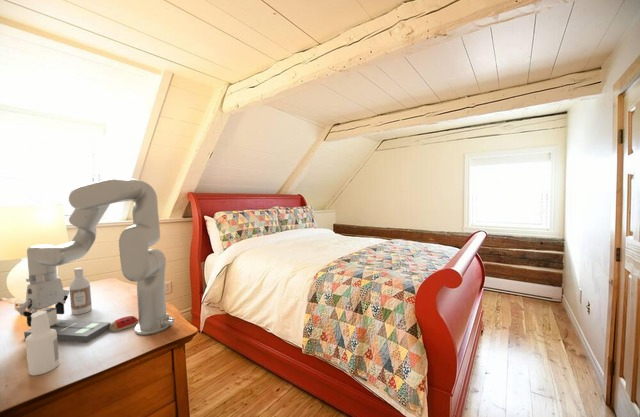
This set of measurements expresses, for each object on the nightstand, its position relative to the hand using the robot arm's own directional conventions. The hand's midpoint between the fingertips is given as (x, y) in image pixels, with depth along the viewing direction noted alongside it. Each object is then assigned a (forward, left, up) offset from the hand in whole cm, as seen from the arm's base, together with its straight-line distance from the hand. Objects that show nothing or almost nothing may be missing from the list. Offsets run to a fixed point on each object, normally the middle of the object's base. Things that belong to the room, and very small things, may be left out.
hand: (46, 319), depth 106 cm
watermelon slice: (-26, -7, -6) cm, 28 cm away
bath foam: (+4, -17, -5) cm, 18 cm away
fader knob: (0, 0, -2) cm, 2 cm away
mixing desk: (-9, 0, -5) cm, 11 cm away
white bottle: (-22, +19, -5) cm, 30 cm away
